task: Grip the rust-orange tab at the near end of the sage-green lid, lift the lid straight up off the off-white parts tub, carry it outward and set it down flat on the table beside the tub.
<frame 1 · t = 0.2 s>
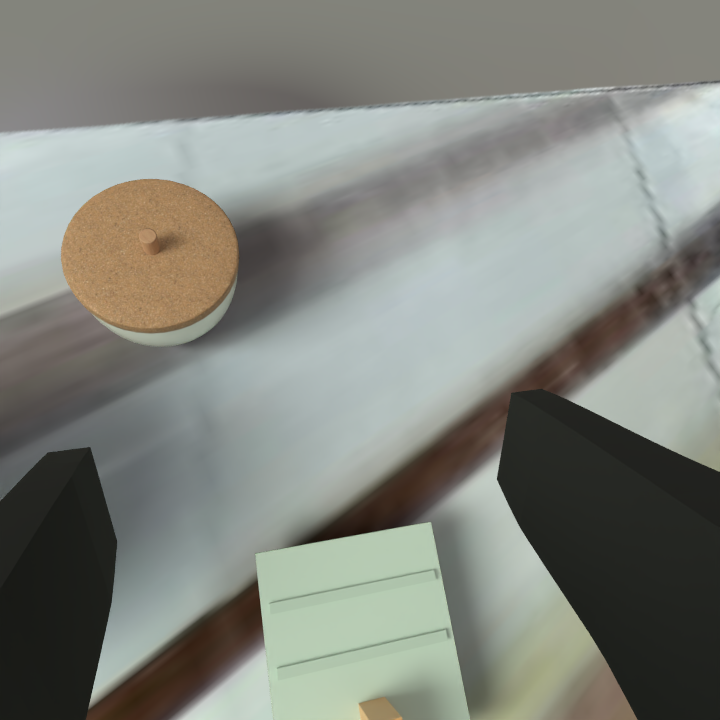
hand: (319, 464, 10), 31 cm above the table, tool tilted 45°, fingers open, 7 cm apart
lidded jar: (169, 300, 42), on the table
lid: (361, 650, 33), point 3 cm above the table, touching parts tub
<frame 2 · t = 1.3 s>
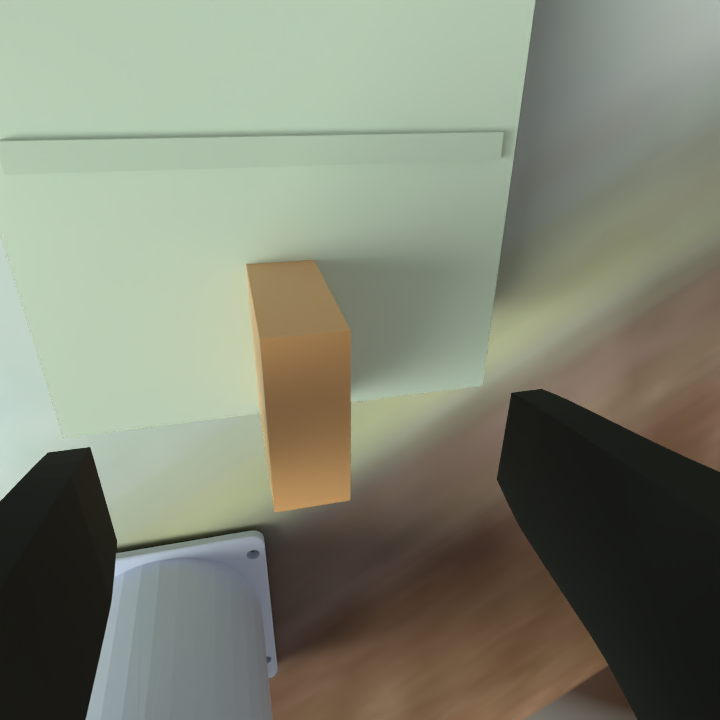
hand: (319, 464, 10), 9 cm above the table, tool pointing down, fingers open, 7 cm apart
lid: (269, 144, 12), point 3 cm above the table, touching parts tub
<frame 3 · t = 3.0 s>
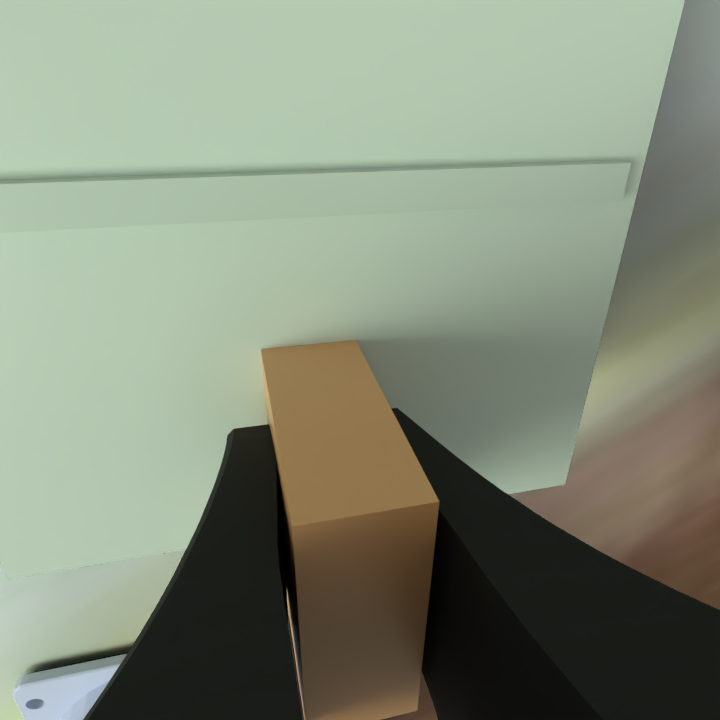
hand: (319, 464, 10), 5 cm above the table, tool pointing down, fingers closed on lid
lid: (295, 181, 9), point 3 cm above the table, touching gripper, parts tub
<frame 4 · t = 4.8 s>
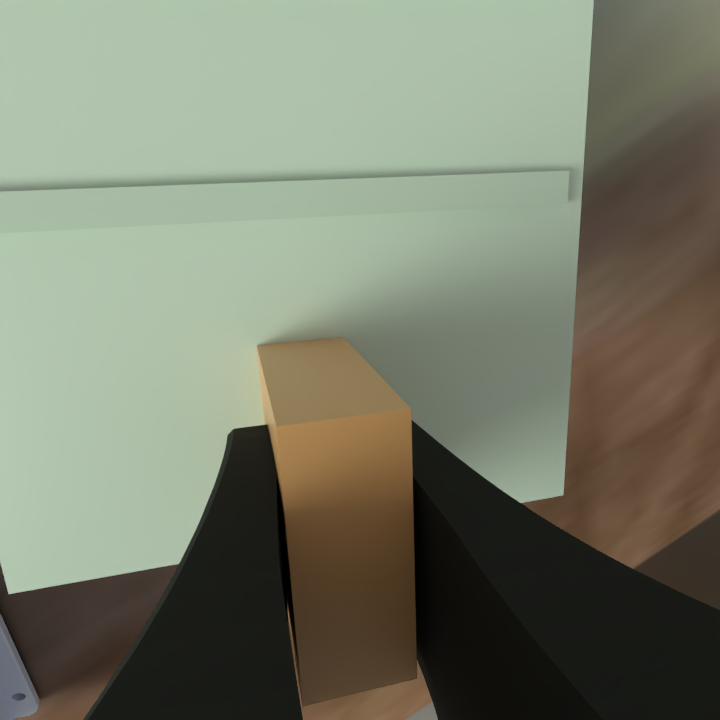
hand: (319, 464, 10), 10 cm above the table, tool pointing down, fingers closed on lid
lid: (284, 201, 10), point 7 cm above the table, tilted 13°, touching gripper
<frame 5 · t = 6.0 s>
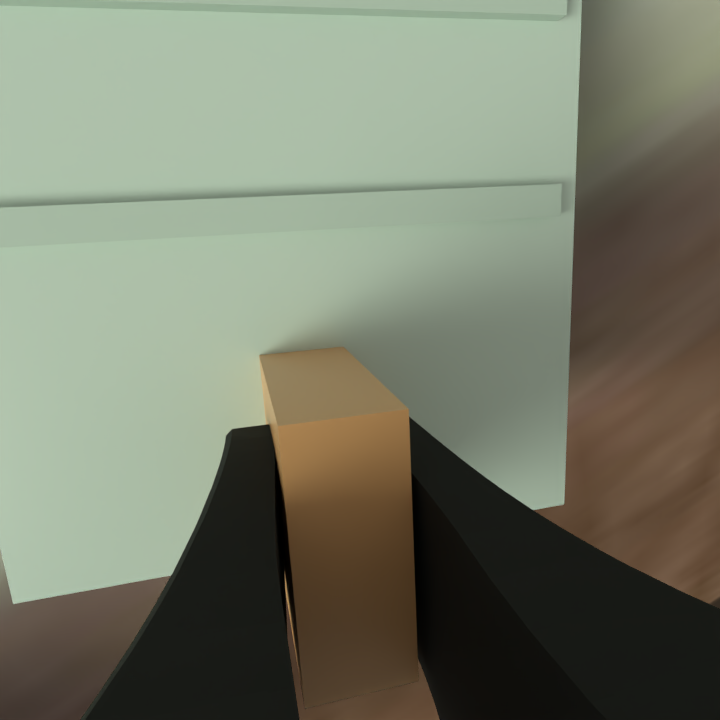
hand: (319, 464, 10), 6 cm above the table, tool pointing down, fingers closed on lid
lid: (286, 215, 11), point 3 cm above the table, tilted 16°, touching gripper
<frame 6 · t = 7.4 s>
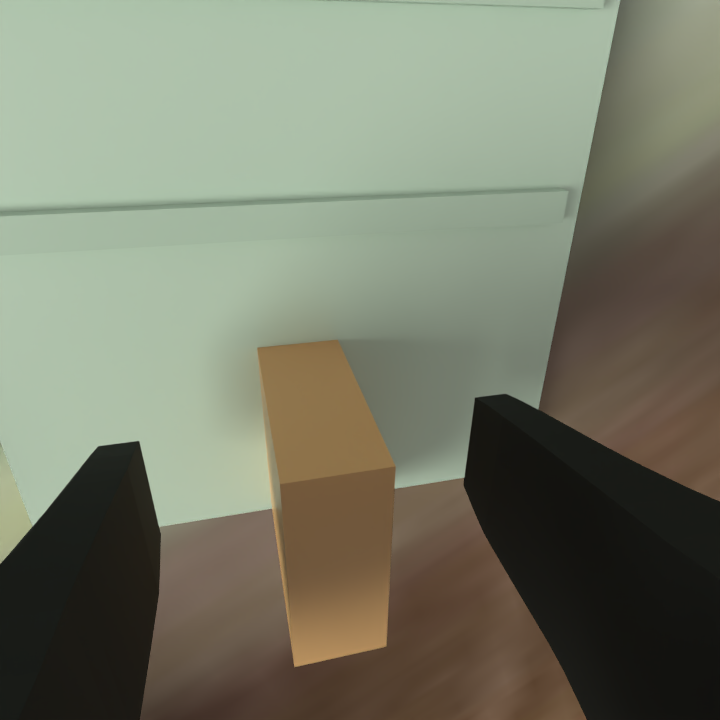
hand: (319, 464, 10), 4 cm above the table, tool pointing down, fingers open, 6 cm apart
lid: (286, 206, 10), point 1 cm above the table
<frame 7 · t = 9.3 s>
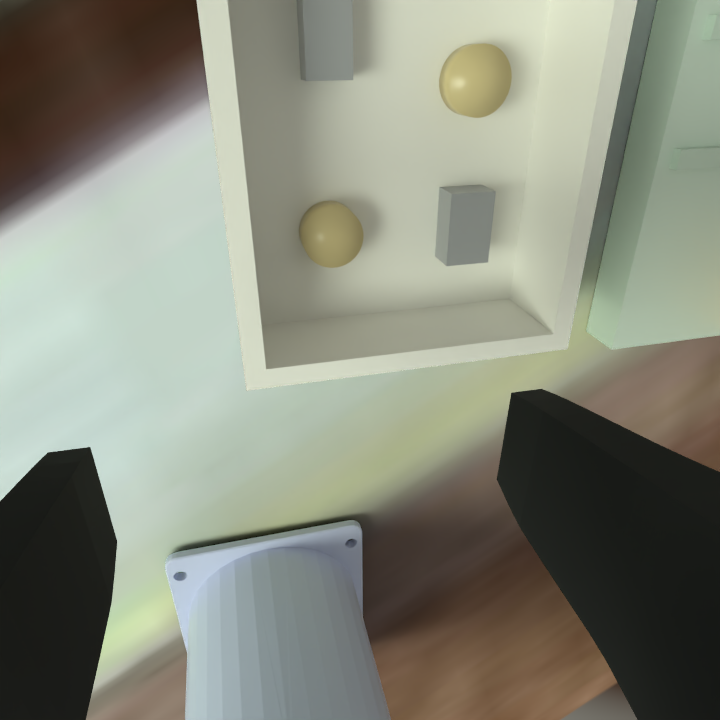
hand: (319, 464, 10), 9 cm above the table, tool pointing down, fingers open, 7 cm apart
parts tub: (387, 137, 16), on the table
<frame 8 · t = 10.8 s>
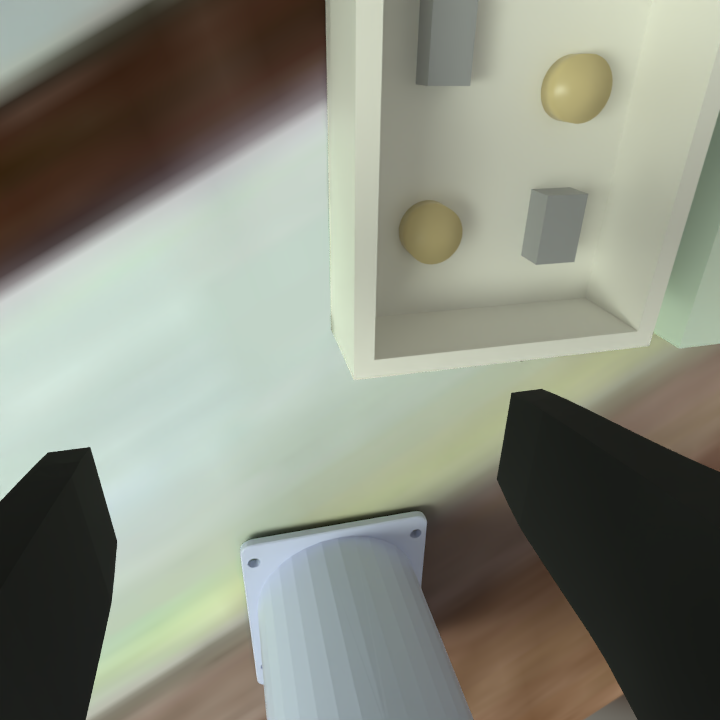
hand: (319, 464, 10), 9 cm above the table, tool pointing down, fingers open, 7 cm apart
parts tub: (485, 140, 17), on the table
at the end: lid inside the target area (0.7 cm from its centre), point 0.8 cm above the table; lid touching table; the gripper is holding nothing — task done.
